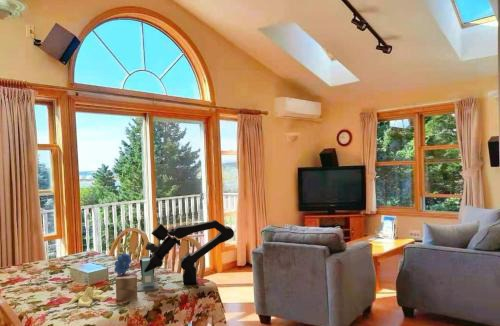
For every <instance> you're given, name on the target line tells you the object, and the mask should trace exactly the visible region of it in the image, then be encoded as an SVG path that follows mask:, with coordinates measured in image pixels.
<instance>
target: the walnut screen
mask: <svg viewBox="0 0 500 326" xmlns="http://www.w3.org/2000/svg"><path fill="white" fill-rule="evenodd" d="M137 290H138V276H135V275H133V276H118V277H117V276H116V278H115V296H116V297H115V301H116V302H117V300H118V301H132V300H133V301H134V300H137V298H138V292H137Z"/></svg>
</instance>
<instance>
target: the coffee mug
mask: <svg viewBox="0 0 500 326" xmlns="http://www.w3.org/2000/svg"><path fill="white" fill-rule="evenodd" d="M145 258H150V255H148V256H142V257H139V259H138V260H139V266H140V274H141V278H142V277H143V273H142V259H145ZM154 276H155V268H154V269H153V277H154Z"/></svg>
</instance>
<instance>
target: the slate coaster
mask: <svg viewBox="0 0 500 326" xmlns="http://www.w3.org/2000/svg"><path fill="white" fill-rule="evenodd" d="M158 290H159V282H153V284H150V285H143V283H142V284H141V283H140V284H138V283H137V293H139V292H140V293H141V292H148V291H158Z"/></svg>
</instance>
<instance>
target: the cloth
mask: <svg viewBox="0 0 500 326" xmlns="http://www.w3.org/2000/svg"><path fill="white" fill-rule="evenodd" d="M102 293H104V291H103V290H101V289H95V290H94V289H93V287H90V286H89V287H87V288H86V289H85V290H84V292H83V293H78V294H76V295H74V296H73V297H72V298H70V299H71V300H70V301H69V302H68V303H67V304H66V305H67V306H68V305H69V306H70V305H73V304H75V302H77V301H78V303H77V307H90V305H91V304H92V303H93V300H95V301H96V300H97V301H99V302H101V303H103V302H105V301H106V300H108V299H109V298H110V297H111V296H110V295H109V294H102Z"/></svg>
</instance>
